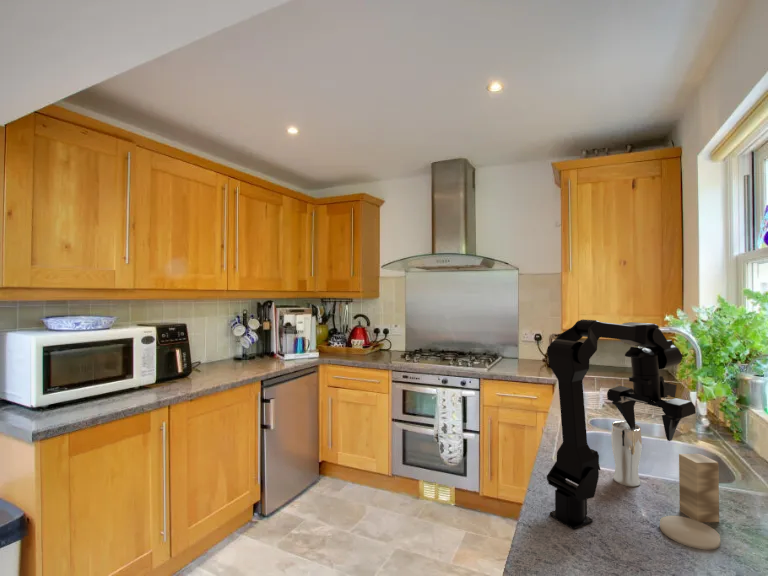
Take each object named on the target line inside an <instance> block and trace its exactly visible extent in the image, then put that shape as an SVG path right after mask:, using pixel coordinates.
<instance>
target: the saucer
mask: <svg viewBox="0 0 768 576" xmlns="http://www.w3.org/2000/svg"><path fill="white" fill-rule="evenodd" d="M659 528H660V531H661V532H662V533H663V534H664V535H665V536H666V537H668V538H669V539H670V540H673V541H675V542H676V543H679V544H681V545H684V546H687V547H690V548H694V549H698V550H707V551H708V550H716V549H719V548H720V547H721V536H720V534H719V533H718V531H717V530H715V529H714V528H713V527H712V526H710V525H708V524H706V523H705V522H699V521H696V520H693V519H691V518H690V517H686V516H681V515H667V516H666V515H665V516H663V517H661V518H660V520H659Z"/></svg>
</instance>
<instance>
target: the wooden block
mask: <svg viewBox="0 0 768 576" xmlns="http://www.w3.org/2000/svg"><path fill="white" fill-rule="evenodd" d="M719 474H720V473H719V461H717V460H714V459H712V458H710V457H708V456H705V455H703V454H701V453H678V479H679V480H678V481H679V485H678V487H679V488H678V489H679V511H680V512H681V513H682V514H684V515H685V516H687V518H690V519H693V520H696V521H699V522H701V523H720V490H719V489H720V483H719V480H720V479H719V477H720V476H719Z"/></svg>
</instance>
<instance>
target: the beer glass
mask: <svg viewBox="0 0 768 576" xmlns="http://www.w3.org/2000/svg"><path fill="white" fill-rule="evenodd" d="M641 431H642V430H641V426H640V425H638V424H636V423H635V429H633V430H632V429H631V428H630V427H629V425H628V423H627V422H626V421H621V420H619V421H613V422H612V423H611V433H610V434H611V435H610V438H611V448H612V454H613V458H614V465H615V469H614V474H613V481H615V482H616V483H617V484H620V485H622V486H625V487H629V488H630V487H631V488H632V487H634V488H635V487H638V486H640V485H641V479H640V477H639V465H640V461H641V456H642V455H641V454H642V449H643V448H642V447H643V442H642V441H643V439H642V432H641Z"/></svg>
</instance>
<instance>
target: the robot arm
mask: <svg viewBox="0 0 768 576" xmlns="http://www.w3.org/2000/svg"><path fill="white" fill-rule="evenodd" d="M583 337H585V338H586V339H585V340H584V342H582V341H579V340H581V339H583ZM600 338H601V339H602V338H604V339H613V340H614V339H615V340H620V342H622V343H624V344H628V345H630V348H629V350H627V351H626V352H625V353H624V357H626V358H630V363H631V366H630V367H631V375H632V376H629V377H628V382H631V383H632V387H633V388H632V387H627V386H622V385H619V386H618V385H617V386H616V387H611V388H609V389H608V390H607V391H606V392H607V393H606V397H607V399H606V400H608V401H611V404H612V405H615V407H616V408H617V410H618V411H619V413H620V414H621V415H622V417H623V418H624V420H625V422H627V423H628V425H629V427H630V428H631V429H632V430H633V429H635V424H636V418H635V416H636V415H635V405H636V403H641V404H643V405H644V404H645V405H649V406H653V407H656V408H661V410H662V412H663V414H662V415H661V418H662V424H663V428H664V432H665V433H664V434H665V437H666V439H667V441H668V442H671V441H673V439H674V435H675V433H676V430H677V428H678V425H679V423H680V422H681V420H682V419H683V418H687V417H689V416H692V415H694V414H697V413H696V406H695V404H694V403H693V402H692V401H691V400H686V399H682V398H677V397H676V393H677V384H674V383H669V382H665V378H664V376H663V375H660V370H663V369H667V368H670V367H674V366H677V365H679V364H681V362H682V360H683V355H682V353H681V351H680V350H679V347H677V346H675V345H674V344H673V340H672V339H667V337H665V334H664V333H663V332H662V330H661V329H660V327H659V325H658V324H656V323H651V322H650V323H647V322H635V321H634V322H629V321H628V322H624V323H623V322H622V323H612V322H604V321H599V320H595V319H580V320H577V321H576V322H575V324H573V326H571V327H570V328H568V329H567V330H565V331H562V332H561V333H560V334H558V335H557V337H556V338H555V339H554V340H552V341H551V343H550V344H549V345H548V346H547V352H546V353H547V359H548V364H549V367H550V369H551V371H552V372H553V373H554V375H555V377H556V379H557V381H558V395H559V408H560V419H561V432H562V433H561V434H562V435H561V436H562V443H561V444H560V446H559V448H558V449H557V451H556V459H555V460H556V461H555V463H554V464H553V465H552V468H551V469H550V470H549V472H548V473H547V475H546V481H547V483H548V485H549V486H552V487H554V488H555V490H554V502H555V503H554V507H555V508H554V510H552V511H550V512H549V516H550V517H552V518H553V519H556V520H557V521H559V522H560V523H563V524H564V525H565V526H567V527H569V528H570V529H573V530H575V529H577V528H578V529H579V528H581V527H584V526H586V525H589V524H592V523H593V522H594V520H593V518H591V517H589V516H588V499H589V500H590V499H593V498H595V496H596V495H595V494H596V490H597V487H598V481H599V476H600V473H599V472H600V471H601V467H600V454H599V452H598V451H597V450H594V449H592V448H590V446H589V444H588V436H587V434H588V433H587V422H586V410H585V398H584V396H585V395H584V383H583V380H584V378H585V377H586V374H588V371H589V370H590V359H591V358H592V356H593V355H594V354H595V353H596V352H597V350H598V340H599V339H600ZM631 345H632V346H631ZM634 346H635V347H634ZM668 397H670V399H669V400H664V399H665V398H668ZM671 398H673V399H671Z"/></svg>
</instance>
